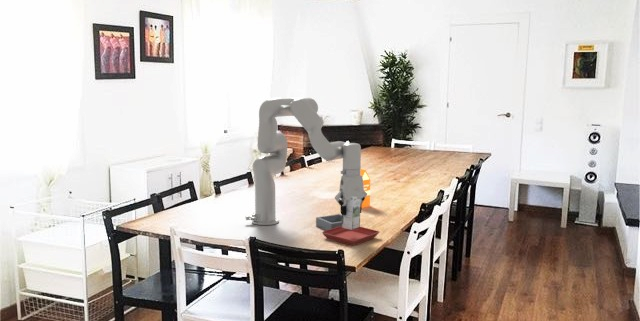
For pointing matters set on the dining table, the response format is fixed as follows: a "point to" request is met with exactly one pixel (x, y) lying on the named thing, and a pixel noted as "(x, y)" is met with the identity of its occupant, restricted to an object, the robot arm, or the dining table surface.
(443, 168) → the dining table surface
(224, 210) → the dining table surface
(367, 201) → the orange juice
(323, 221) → the bin
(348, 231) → the plant saucer
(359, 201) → the syrup box
